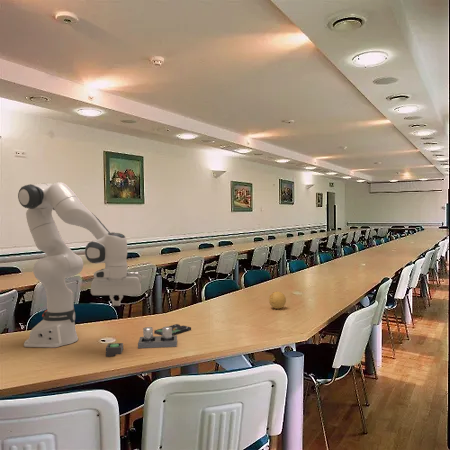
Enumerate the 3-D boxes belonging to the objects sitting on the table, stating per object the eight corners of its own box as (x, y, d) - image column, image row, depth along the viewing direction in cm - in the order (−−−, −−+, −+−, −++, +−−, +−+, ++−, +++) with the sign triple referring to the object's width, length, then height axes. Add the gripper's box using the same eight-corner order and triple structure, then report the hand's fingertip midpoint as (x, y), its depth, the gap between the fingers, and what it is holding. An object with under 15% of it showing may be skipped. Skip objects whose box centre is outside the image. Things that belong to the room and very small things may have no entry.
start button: (109, 349, 174) (109, 346, 174) (110, 346, 178) (110, 343, 178) (118, 349, 175) (118, 346, 174) (119, 346, 178) (119, 343, 178)
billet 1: (144, 346, 183) (143, 329, 183) (143, 343, 187) (142, 327, 187) (153, 345, 184) (152, 328, 184) (153, 342, 188) (152, 326, 188)
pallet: (138, 350, 180) (137, 343, 180) (140, 343, 189) (140, 336, 189) (176, 348, 182) (176, 341, 182) (177, 342, 191) (177, 335, 191)
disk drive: (176, 329, 214) (153, 336, 202) (176, 323, 214) (153, 330, 202) (191, 332, 208) (169, 340, 196) (191, 327, 208) (169, 333, 196)
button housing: (105, 356, 173) (105, 348, 173) (108, 351, 179) (108, 343, 179) (121, 356, 174) (120, 347, 173) (123, 351, 179) (123, 342, 179)
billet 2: (162, 345, 184) (162, 329, 184) (163, 342, 188) (162, 326, 188) (172, 345, 184) (171, 328, 184) (172, 342, 188) (172, 326, 188)
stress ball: (287, 310, 253) (283, 296, 260) (288, 299, 246) (283, 286, 253) (271, 313, 252) (266, 300, 259) (271, 303, 245) (266, 289, 253)
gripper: (142, 271, 182) (142, 303, 182) (93, 271, 180) (93, 304, 181) (141, 273, 176) (141, 307, 176) (89, 273, 174) (89, 307, 175)
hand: (116, 305), depth 179 cm, fingers closed
